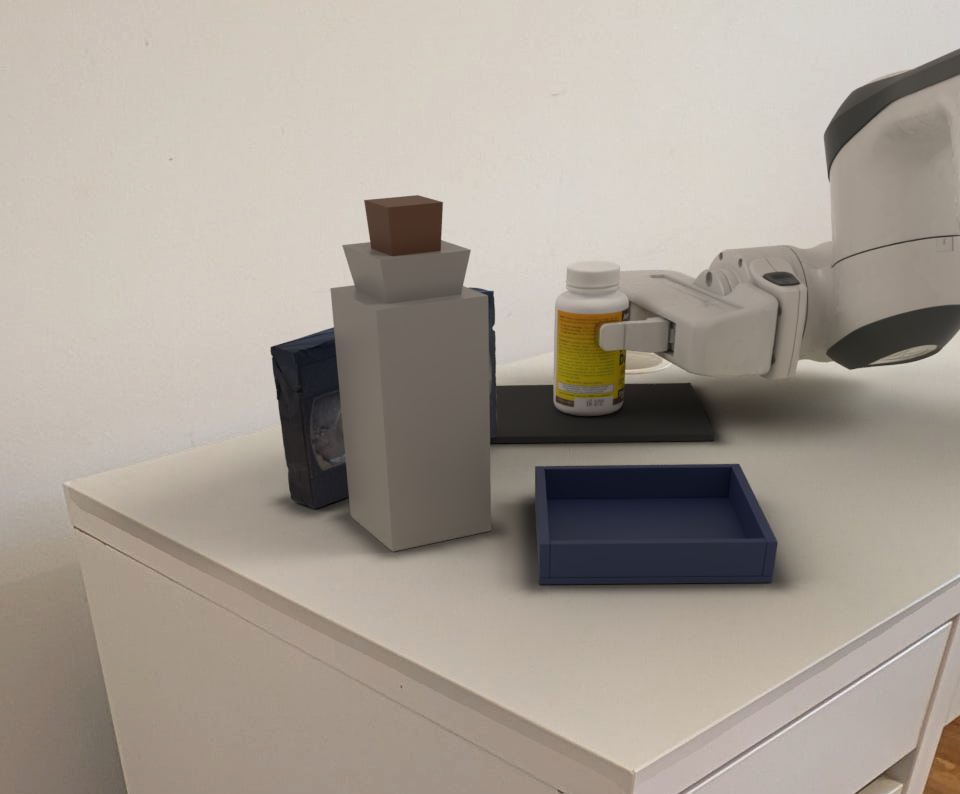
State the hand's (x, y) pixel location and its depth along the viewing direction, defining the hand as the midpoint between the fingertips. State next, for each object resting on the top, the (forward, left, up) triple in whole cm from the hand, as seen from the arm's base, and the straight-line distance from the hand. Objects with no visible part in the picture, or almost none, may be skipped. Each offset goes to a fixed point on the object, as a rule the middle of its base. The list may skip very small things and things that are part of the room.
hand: (580, 326), depth 86 cm
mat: (-1, 0, -7) cm, 7 cm away
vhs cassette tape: (+13, +13, -7) cm, 19 cm away
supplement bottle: (-1, 0, -6) cm, 6 cm away
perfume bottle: (+11, +23, -7) cm, 26 cm away
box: (-3, +26, -7) cm, 27 cm away
